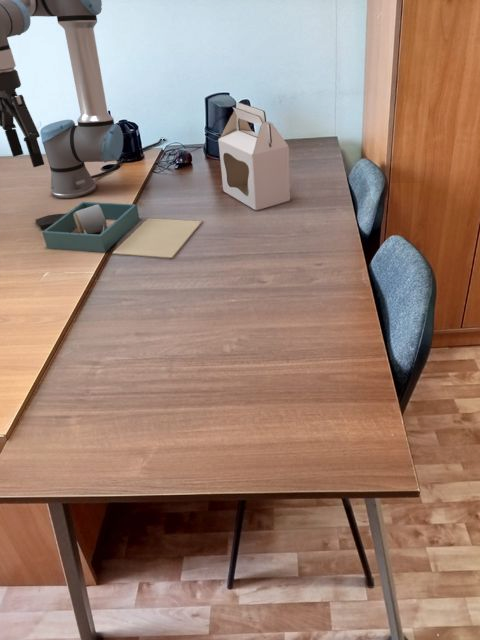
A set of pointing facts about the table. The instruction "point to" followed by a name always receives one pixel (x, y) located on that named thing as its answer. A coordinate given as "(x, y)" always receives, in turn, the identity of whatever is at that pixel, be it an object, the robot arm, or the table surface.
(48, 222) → the dark sector wedge
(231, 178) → the gable box
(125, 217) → the teal rectangular frame
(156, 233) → the mat
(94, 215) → the ceramic mug
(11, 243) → the table surface
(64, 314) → the table surface
